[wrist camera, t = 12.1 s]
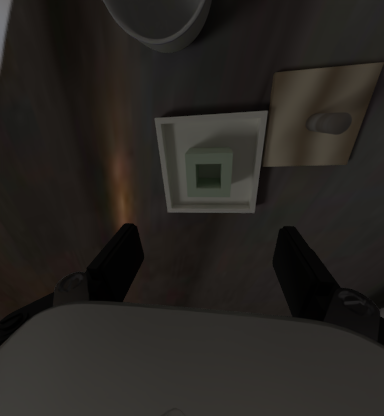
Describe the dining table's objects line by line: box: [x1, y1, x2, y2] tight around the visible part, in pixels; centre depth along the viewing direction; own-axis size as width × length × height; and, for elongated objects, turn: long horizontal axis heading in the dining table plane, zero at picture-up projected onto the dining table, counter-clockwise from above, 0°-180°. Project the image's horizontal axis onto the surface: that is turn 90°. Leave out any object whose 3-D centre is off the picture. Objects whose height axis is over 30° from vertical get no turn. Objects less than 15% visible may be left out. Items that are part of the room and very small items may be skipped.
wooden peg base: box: [262, 62, 384, 167], centre depth 22 cm, size 12×12×6 cm
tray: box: [155, 111, 268, 213], centre depth 28 cm, size 16×16×2 cm
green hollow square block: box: [185, 147, 233, 197], centre depth 26 cm, size 6×6×5 cm
